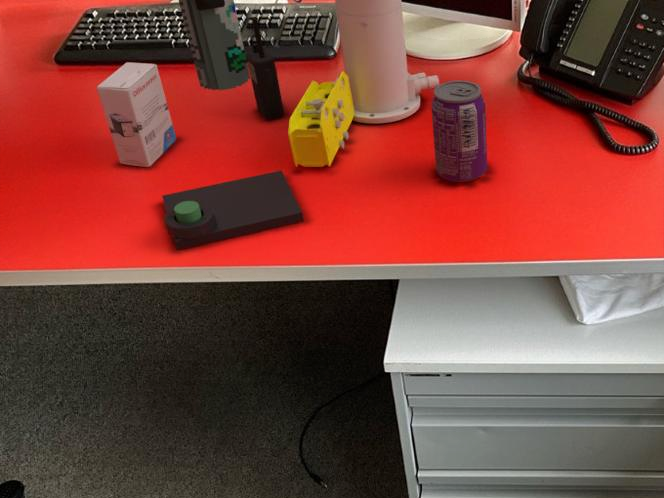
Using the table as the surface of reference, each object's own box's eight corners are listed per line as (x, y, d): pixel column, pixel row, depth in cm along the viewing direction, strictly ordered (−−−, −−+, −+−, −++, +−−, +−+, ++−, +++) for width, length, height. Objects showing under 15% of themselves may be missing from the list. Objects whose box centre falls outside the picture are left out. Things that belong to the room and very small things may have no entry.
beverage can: (494, 164, 125) (492, 82, 117) (477, 189, 120) (473, 105, 112) (447, 157, 127) (442, 76, 119) (428, 181, 122) (421, 98, 114)
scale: (283, 179, 123) (279, 159, 121) (305, 223, 115) (301, 202, 113) (161, 205, 119) (155, 185, 117) (174, 253, 110) (167, 232, 108)
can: (252, 85, 110) (225, -45, 100) (202, 93, 108) (169, -37, 98) (245, 66, 114) (218, -60, 104) (197, 74, 112) (164, -53, 102)
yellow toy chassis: (334, 171, 124) (323, 115, 119) (294, 171, 125) (281, 115, 119) (358, 119, 136) (349, 66, 131) (322, 119, 137) (311, 66, 131)
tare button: (199, 209, 113) (196, 198, 112) (203, 221, 111) (200, 210, 110) (175, 214, 112) (172, 204, 111) (179, 226, 110) (175, 215, 109)
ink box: (148, 137, 133) (125, 60, 126) (179, 140, 133) (158, 62, 125) (119, 165, 127) (92, 86, 119) (151, 168, 126) (127, 88, 119)
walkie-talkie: (256, 110, 140) (236, 13, 130) (277, 105, 141) (258, 8, 131) (267, 122, 136) (246, 23, 126) (288, 116, 138) (269, 18, 128)
